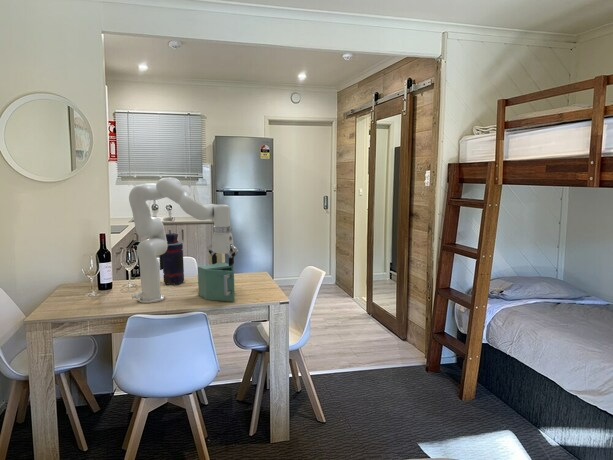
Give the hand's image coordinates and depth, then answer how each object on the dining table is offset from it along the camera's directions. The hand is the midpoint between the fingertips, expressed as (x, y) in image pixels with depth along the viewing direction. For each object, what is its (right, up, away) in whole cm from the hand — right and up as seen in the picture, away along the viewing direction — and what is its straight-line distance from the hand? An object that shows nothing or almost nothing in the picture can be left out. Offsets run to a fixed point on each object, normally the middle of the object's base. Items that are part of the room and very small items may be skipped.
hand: (222, 264), depth 218 cm
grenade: (-40, -15, +50) cm, 66 cm away
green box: (-4, -20, +8) cm, 21 cm away
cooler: (-8, -18, +22) cm, 29 cm away
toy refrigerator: (-10, -16, +39) cm, 43 cm away
